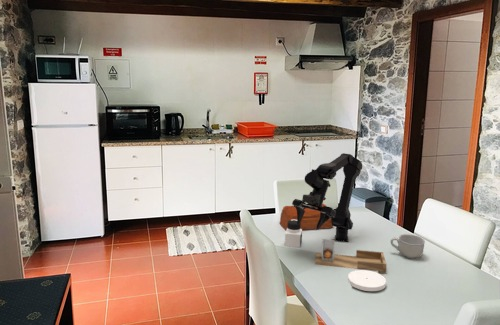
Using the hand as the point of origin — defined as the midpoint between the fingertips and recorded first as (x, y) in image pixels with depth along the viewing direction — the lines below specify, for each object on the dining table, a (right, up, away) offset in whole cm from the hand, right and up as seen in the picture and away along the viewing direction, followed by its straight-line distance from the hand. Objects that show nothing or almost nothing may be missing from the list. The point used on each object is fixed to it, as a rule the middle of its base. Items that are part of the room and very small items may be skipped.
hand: (307, 227), depth 174 cm
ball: (+9, -12, +1) cm, 15 cm away
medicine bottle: (-4, -12, +18) cm, 22 cm away
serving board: (+18, -15, 0) cm, 23 cm away
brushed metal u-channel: (+9, -14, +2) cm, 17 cm away
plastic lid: (+20, -19, -16) cm, 33 cm away
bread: (+6, -6, +45) cm, 46 cm away
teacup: (+45, -14, +9) cm, 48 cm away
